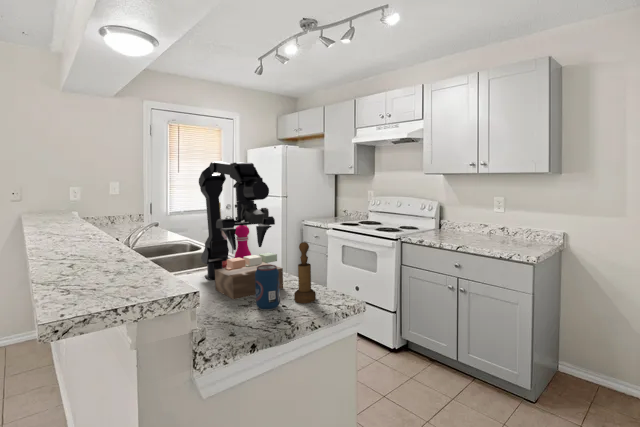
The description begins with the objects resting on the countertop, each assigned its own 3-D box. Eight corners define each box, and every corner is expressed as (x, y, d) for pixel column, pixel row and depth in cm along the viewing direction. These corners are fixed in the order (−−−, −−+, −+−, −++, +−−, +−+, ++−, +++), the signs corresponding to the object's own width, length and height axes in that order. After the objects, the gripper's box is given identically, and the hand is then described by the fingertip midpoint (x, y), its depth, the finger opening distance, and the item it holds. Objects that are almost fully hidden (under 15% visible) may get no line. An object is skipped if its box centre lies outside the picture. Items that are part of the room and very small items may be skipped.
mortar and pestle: (299, 304, 110) (298, 245, 109) (291, 298, 116) (289, 241, 114) (319, 301, 113) (318, 242, 112) (310, 295, 119) (308, 239, 117)
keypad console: (215, 289, 127) (214, 268, 126) (262, 280, 138) (262, 260, 138) (233, 299, 116) (232, 276, 115) (283, 288, 127) (282, 267, 127)
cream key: (243, 263, 124) (243, 256, 124) (255, 261, 127) (255, 254, 127) (250, 266, 121) (249, 258, 121) (261, 263, 124) (261, 256, 123)
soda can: (252, 305, 110) (251, 266, 109) (274, 301, 114) (273, 263, 112) (261, 312, 104) (259, 270, 103) (283, 308, 107) (282, 267, 106)
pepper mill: (248, 270, 153) (246, 222, 151) (231, 270, 155) (229, 222, 153) (254, 266, 160) (253, 220, 158) (239, 266, 162) (237, 220, 160)
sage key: (259, 261, 128) (259, 254, 128) (270, 259, 131) (270, 252, 131) (266, 263, 125) (265, 256, 124) (277, 261, 127) (277, 254, 127)
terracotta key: (227, 266, 121) (226, 259, 120) (239, 264, 123) (239, 257, 123) (232, 269, 117) (232, 261, 117) (245, 266, 120) (245, 259, 120)
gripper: (229, 200, 109) (232, 253, 109) (282, 199, 121) (285, 247, 121) (214, 202, 118) (216, 251, 118) (265, 200, 129) (267, 245, 130)
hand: (247, 248), depth 122 cm, fingers open, 9 cm apart
